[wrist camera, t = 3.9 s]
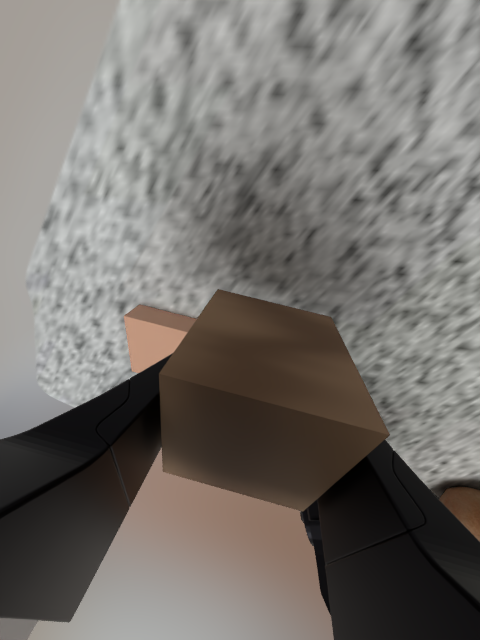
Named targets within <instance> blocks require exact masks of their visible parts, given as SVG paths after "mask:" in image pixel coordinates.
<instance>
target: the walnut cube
mask: <svg viewBox="0 0 480 640" xmlns="http://www.w3.org/2000/svg"><path fill="white" fill-rule="evenodd" d="M159 389H160V413H161V438H162V461H163V472H166V473H169V474H173V475H176V476H180V477H183V478H187V479H190V480H194V481H197V482H201V483H205V484H208V485H211V486H215V487H219V488H222V489H226V490H229V491H233V492H236V493H240V494H243V495H247V496H250V497H254V498H257V499H261V500H264V501H268V502H271V503H275V504H278V505H282V506H286V507H289V508H292V509H296V510H299V511H304V510H305V509H306V508H308V507H309V506H310V505H311V504H312V503H313V502H314V501H315V500H317V499H318V498H319V497H320V496H321V495H322V494H323V493H325V492H326V491H327V490H328V489H329V488H330V487H331V486H333V485H334V484H335V483H336V482H337V481H338V480H339V479H340V478H342V477H343V476H344V475H345V474H346V473H347V472H348V471H350V470H351V469H352V468H353V467H354V466H355V465H356V464H358V463H359V462H360V461H361V460H362V459H363V458H364V457H365V456H367V455H368V454H369V453H370V452H371V451H372V450H373V449H375V448H376V447H377V446H378V445H379V444H380V443H381V442H383V441H384V440H385V439H386V438H387V437H388V436H389V435H390V434H389V432H388V430H387V428H386V426H385V424H384V422H383V420H382V418H381V416H380V414H379V412H378V410H377V408H376V406H375V404H374V402H373V400H372V398H371V396H370V394H369V392H368V390H367V388H366V386H365V384H364V382H363V380H362V378H361V376H360V374H359V372H358V370H357V368H356V366H355V364H354V362H353V360H352V358H351V356H350V354H349V352H348V350H347V348H346V346H345V344H344V342H343V340H342V338H341V336H340V334H339V332H338V330H337V328H336V326H335V324H334V322H333V320H332V318H331V317H328V316H324V315H320V314H316V313H312V312H308V311H304V310H300V309H296V308H292V307H288V306H284V305H280V304H276V303H272V302H268V301H264V300H260V299H256V298H252V297H247V296H243V295H239V294H235V293H231V292H227V291H223V290H219V289H218V290H217V291H216V292H215V294H214V295H213V297H212V298H211V300H210V301H209V303H208V304H207V305H206V307H205V308H204V310H203V311H202V313H201V314H200V315H199V317H198V318H197V320H196V321H195V323H194V324H193V325H192V327H191V328H190V330H189V331H188V333H187V334H186V335H185V337H184V338H183V340H182V341H181V343H180V344H179V346H178V347H177V348H176V350H175V351H174V353H173V354H172V356H171V357H170V358H169V360H168V361H167V363H166V364H165V366H164V367H163V368H162V370H161V371H160V373H159Z"/></svg>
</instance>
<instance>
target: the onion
mask: <svg viewBox="0 0 480 640" xmlns="http://www.w3.org/2000/svg"><path fill="white" fill-rule="evenodd" d="M439 500H440V501H441V502H442V503H443V504H444V505H445V506H446V507H447V508H448V509H449V510H450V511H451V512H452V513H453V514H454V515H455V517H456V518H457V519H458V520H459V521H460V522H461V523H462V524H463V525H464V526H465V527H466V528H467V529H468V530H469V531H470V532H471V533H472V534H473V535H474V536H475V537H476V538H477V539H478V540H479V541H480V490H477V489H473V488H469V487H453V488H448V489H446V490H445V492H444V493H443V494H442V496H441V497H440V499H439Z"/></svg>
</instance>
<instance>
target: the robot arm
mask: <svg viewBox="0 0 480 640" xmlns="http://www.w3.org/2000/svg"><path fill="white" fill-rule="evenodd" d="M172 354H173V353H172ZM172 354H170V355H169V356H167V357H165V358H164V359H162V360H160V361H158V362H157V363H155V364H153V365H152V366H150V367H148V368H147V369H145V370H143V371H142V372H140V373H138V374H136V375H135V376H133V377H131V378H130V380H129V379H128V380H126V381H124V382H123V383H121V384H119V385H118V386H116V387H114V388H112V389H111V390H109V391H107V392H105V393H103V394H101V395H99V396H97V397H96V398H94V399H92V400H90V401H88V402H86V403H84V404H82V405H80V406H78V407H76V408H74V409H71V410H70V411H67V412H66V413H63V414H61V415H59V416H57V417H55V418H53V419H51V420H49V421H47V422H45V423H43V424H41V425H39V426H37V427H34V428H32V429H30V430H28V431H25V432H23V433H20V434H17V435H14V436H11V437H8V438H4V439H0V640H27V639H28V637H29V636H30V634H31V632H32V630H33V629H34V627H35V625H36V624H37V622H38V620H42V621H57V622H70V621H71V619H72V617H73V616H74V613H75V612H76V610H77V608H78V606H79V604H80V602H81V601H82V598H83V597H84V594H85V593H86V591H87V589H88V587H89V585H90V583H91V581H92V579H93V577H94V576H95V573H96V572H97V570H98V568H99V566H100V564H101V562H102V560H103V558H104V556H105V554H106V553H107V551H108V549H109V547H110V545H111V543H112V541H113V539H114V537H115V535H116V533H117V531H118V529H119V528H120V526H121V524H122V522H123V520H124V518H125V516H126V514H127V512H128V510H129V507H130V506H131V504H132V502H133V500H134V499H135V497H136V495H137V493H138V491H139V489H140V487H141V485H142V483H143V481H144V479H145V477H146V476H147V474H148V472H149V470H150V468H151V466H152V464H153V462H154V460H155V458H156V456H157V455H158V453H159V451H160V449H161V447H162V438H161V413H160V389H159V373H160V371H161V370H162V368H163V367H164V366H165V364H166V363H167V361H168V360H169V358H170V357H171V356H172ZM300 514H301V520H302V521H303V523H304V524H305V528H306V532H307V535H308V538H309V541H310V543H311V544H312V546H314V549H315V555H316V562H317V568H318V576H319V583H320V590H321V594H322V596H323V599H324V601H325V603H326V606H327V608H328V611H329V613H330V615H331V618H332V627H333V635H334V640H480V541H479V540H478V539H477V538H476V537H475V536H474V535H473V534H472V533H471V532H470V531H469V530H468V529H467V528H466V527H465V526H464V525H463V524H462V523H461V522H460V521H459V520H458V519H457V518H456V517H455V515H454V514H453V513H452V512H451V511H450V510H449V509H448V508H447V507H446V506H445V505H444V504H443V503H442V502H441V501H440V500H439V499H438V498H437V497H436V496H435V495H434V494H433V493H432V491H431V490H430V489H429V488H428V487H427V486H426V485H425V484H424V483H423V482H422V481H421V480H420V479H419V478H418V476H417V475H416V474H415V473H414V472H413V471H412V470H411V469H410V468H409V466H408V465H407V464H406V463H405V462H404V461H403V460H402V459H401V457H400V456H399V455H398V454H397V453H396V452H395V451H393V448H392V447H391V446H390V445H389V444H388V443H387V441H386V440H384V441H383V442H381V443H380V444H379V445H378V446H377V447H376V448H375V449H373V450H372V451H371V452H370V453H369V454H368V455H367V456H365V457H364V458H363V459H362V460H361V461H360V462H359V463H358V464H356V465H355V466H354V467H353V468H352V469H351V470H350V471H348V472H347V473H346V474H345V475H344V476H343V477H342V478H340V479H339V480H338V481H337V482H336V483H335V484H334V485H333V486H331V487H330V488H329V489H328V490H327V491H326V492H325V493H323V494H322V495H321V496H320V497H319V498H318V499H317V500H315V501H314V502H313V503H312V504H311V505H310V506H309V507H308V508H306V509H305V510H304V511H301V512H300Z"/></svg>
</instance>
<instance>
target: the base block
mask: <svg viewBox="0 0 480 640" xmlns="http://www.w3.org/2000/svg"><path fill="white" fill-rule="evenodd" d="M124 320H125V326H126V333H127V340H128V347H129V354H130V361H131V368H132V371H133V372H137V373H140V372H142V371H143V370H145V369H147V368H148V367H150V366H152V365H153V364H155V363H157V362H158V361H160V360H162V359H164V358H165V357H167V356H169V355H170V354H172V353H174V351H175V350H176V348H177V347H178V346H179V344H180V343H181V341H182V340H183V338H184V337H185V335H186V334H187V333H188V331H189V330H190V328H191V327H192V325H193V324H194V323H195V321H196V320H197V319H195V318H191V317H187V316H183V315H179V314H175V313H171V312H167V311H163V310H159V309H155V308H152V307H148V306H144V305H138V306H137V307H136V308H134V309H133V310H131V311H130V312H129V313H127V314H126V315H124Z"/></svg>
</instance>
